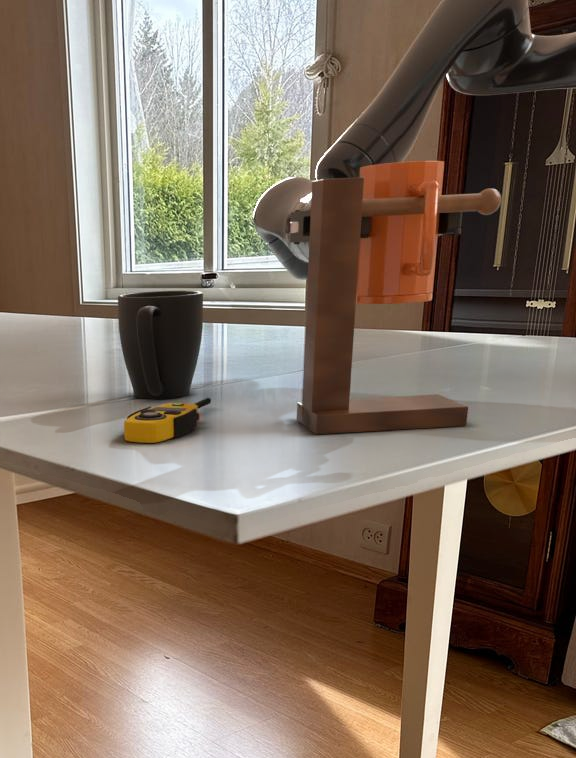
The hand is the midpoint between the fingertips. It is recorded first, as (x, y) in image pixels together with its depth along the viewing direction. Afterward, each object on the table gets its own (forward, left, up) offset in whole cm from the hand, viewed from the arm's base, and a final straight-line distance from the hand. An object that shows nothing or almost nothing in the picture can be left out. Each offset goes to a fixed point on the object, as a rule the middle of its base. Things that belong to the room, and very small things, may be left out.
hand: (409, 220), depth 71 cm
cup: (0, 0, -6) cm, 6 cm away
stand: (+2, +2, -15) cm, 15 cm away
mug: (+18, -16, -15) cm, 28 cm away
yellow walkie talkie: (+18, -2, -15) cm, 24 cm away
